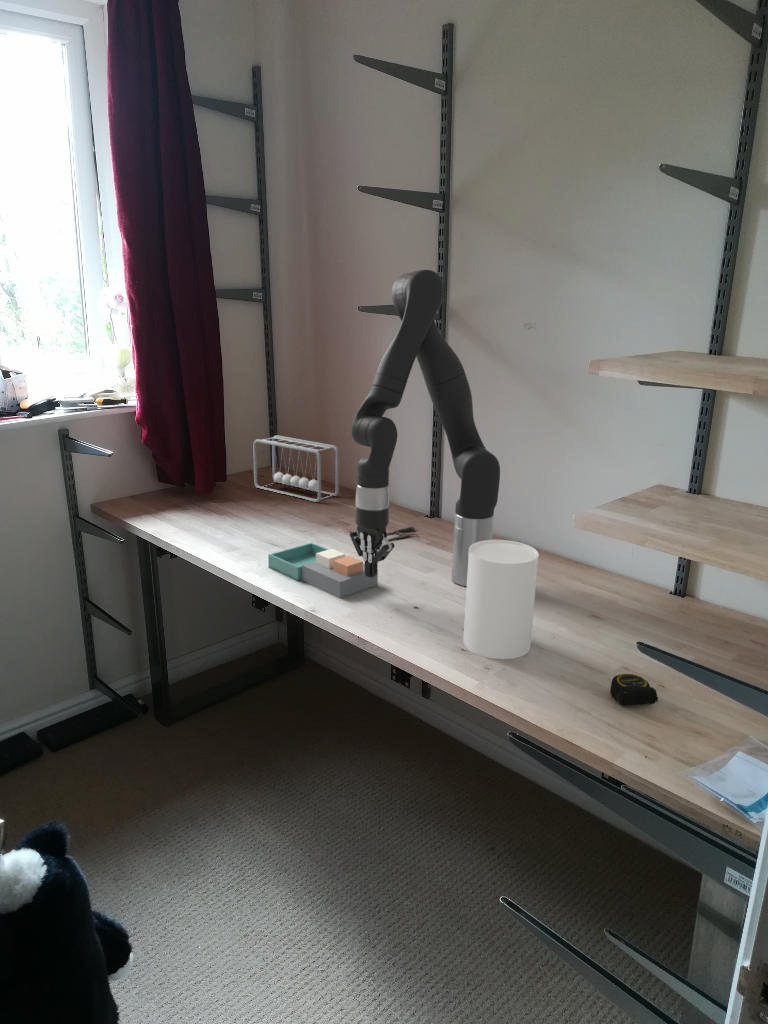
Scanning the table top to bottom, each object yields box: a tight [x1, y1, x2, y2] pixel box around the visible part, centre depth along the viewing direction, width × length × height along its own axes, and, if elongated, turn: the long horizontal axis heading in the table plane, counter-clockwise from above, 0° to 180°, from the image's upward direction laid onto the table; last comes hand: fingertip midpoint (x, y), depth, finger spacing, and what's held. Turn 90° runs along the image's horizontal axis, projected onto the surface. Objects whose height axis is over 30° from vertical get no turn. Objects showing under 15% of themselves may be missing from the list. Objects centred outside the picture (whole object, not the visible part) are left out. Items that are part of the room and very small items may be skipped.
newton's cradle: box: [252, 434, 340, 503], centre depth 253 cm, size 30×10×18 cm, turn 55°
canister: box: [462, 539, 540, 660], centre depth 149 cm, size 14×14×20 cm
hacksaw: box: [350, 526, 419, 548], centre depth 211 cm, size 24×10×2 cm, turn 122°
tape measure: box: [609, 673, 659, 707], centre depth 131 cm, size 7×7×4 cm
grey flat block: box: [301, 555, 379, 599], centre depth 179 cm, size 14×12×4 cm
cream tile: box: [316, 548, 346, 569], centre depth 181 cm, size 5×5×2 cm
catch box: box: [267, 542, 330, 582], centre depth 189 cm, size 12×14×4 cm
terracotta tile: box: [333, 555, 364, 576], centre depth 176 cm, size 5×5×2 cm
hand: (370, 576), depth 171 cm, fingers closed
